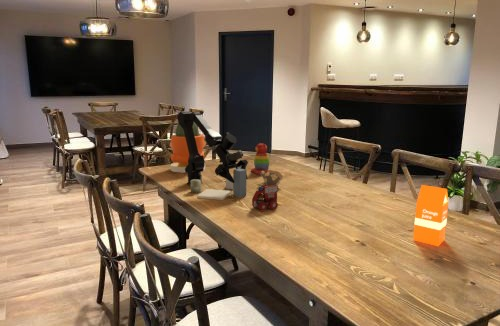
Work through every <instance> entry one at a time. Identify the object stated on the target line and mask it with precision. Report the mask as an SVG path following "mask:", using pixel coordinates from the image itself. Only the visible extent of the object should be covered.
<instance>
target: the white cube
mask: <svg viewBox="0 0 500 326" xmlns="http://www.w3.org/2000/svg"><path fill="white" fill-rule="evenodd" d="M225 189H226V190H228V189H229V190H233V183H232V182H230V181H229V180H227V179H225Z"/></svg>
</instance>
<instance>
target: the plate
mask: <svg viewBox="0 0 500 326" xmlns="http://www.w3.org/2000/svg"><path fill="white" fill-rule="evenodd" d="M231 193H232V190H227V189H226V190H224V189H211V188H206V189H205V190H203V191H202V192H200V193H198V195H196V197H197V199H205V200H206V199H207V200H216V201H217V200H218V201H224V200H225V199H226V198H227V197H228V196H229V195H230V194H231Z"/></svg>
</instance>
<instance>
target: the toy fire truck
mask: <svg viewBox="0 0 500 326" xmlns="http://www.w3.org/2000/svg"><path fill="white" fill-rule="evenodd" d="M257 189H258V190H256V191H255V192H254V194H253V195H252V198H251V206H252V208H255V209H256V208H258V210H260V212H264V211H266V210H267V209H268V208H269V209H270V210H276V209H277V208H278V206H279V204H278V191H279V185H271V186H267V185H266V186H262V185H261V186H258V188H257Z"/></svg>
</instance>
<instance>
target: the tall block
mask: <svg viewBox="0 0 500 326" xmlns="http://www.w3.org/2000/svg"><path fill="white" fill-rule="evenodd" d="M232 170H233V173H232V177H233V179H234V181H235V182H234V183H233V189H232V190H233V191H232V192H233V197H237V198H243V197H246V196H247V180H246V173H247V172H248V171H247V169H246V170H245V169H240V168H239V169H236V168H234V169H232Z"/></svg>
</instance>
